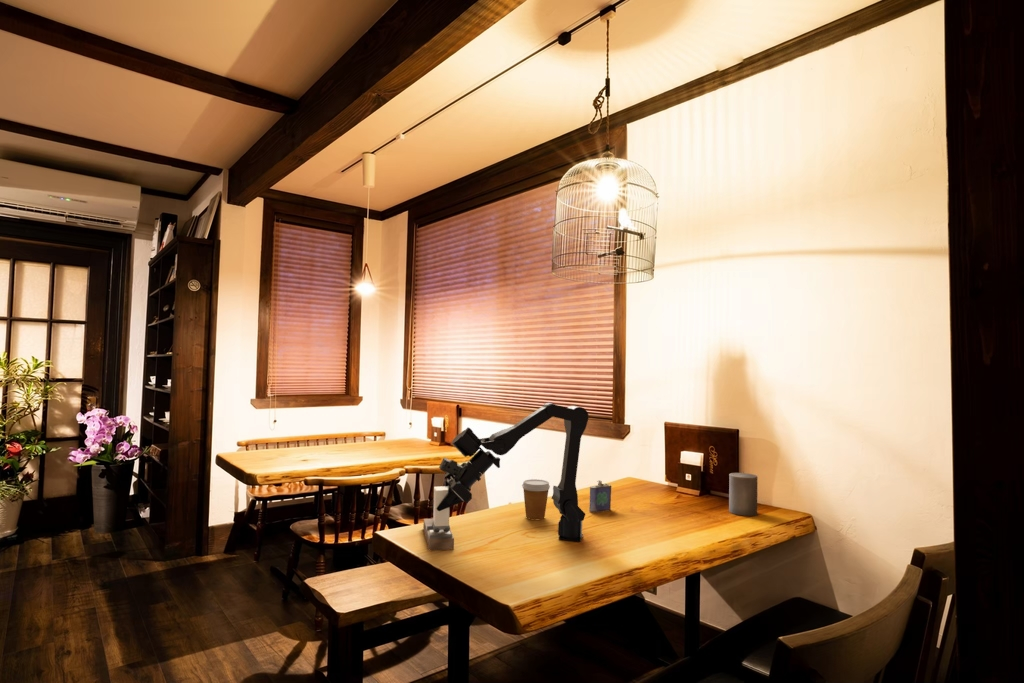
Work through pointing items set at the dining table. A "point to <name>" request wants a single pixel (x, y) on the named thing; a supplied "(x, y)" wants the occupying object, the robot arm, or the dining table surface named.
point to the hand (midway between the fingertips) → (436, 507)
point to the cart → (441, 516)
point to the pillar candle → (743, 494)
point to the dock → (437, 537)
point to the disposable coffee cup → (535, 498)
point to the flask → (600, 498)
